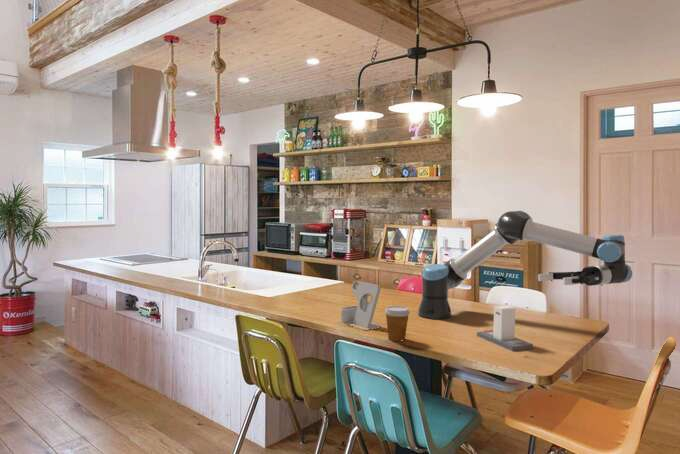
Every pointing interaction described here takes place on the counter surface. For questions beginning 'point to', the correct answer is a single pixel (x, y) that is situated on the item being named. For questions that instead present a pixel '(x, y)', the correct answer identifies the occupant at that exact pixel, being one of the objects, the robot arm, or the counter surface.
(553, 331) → the counter surface
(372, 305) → the phone holder
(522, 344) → the power strip
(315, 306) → the counter surface
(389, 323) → the disposable coffee cup
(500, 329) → the block
